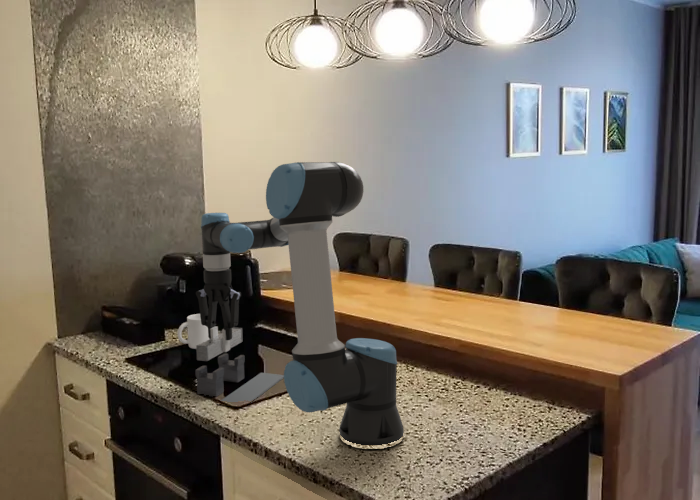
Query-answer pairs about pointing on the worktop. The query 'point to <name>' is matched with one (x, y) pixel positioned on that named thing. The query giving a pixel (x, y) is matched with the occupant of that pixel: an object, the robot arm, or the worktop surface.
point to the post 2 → (232, 367)
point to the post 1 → (210, 381)
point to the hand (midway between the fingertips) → (220, 350)
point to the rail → (217, 345)
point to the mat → (254, 387)
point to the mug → (194, 331)
